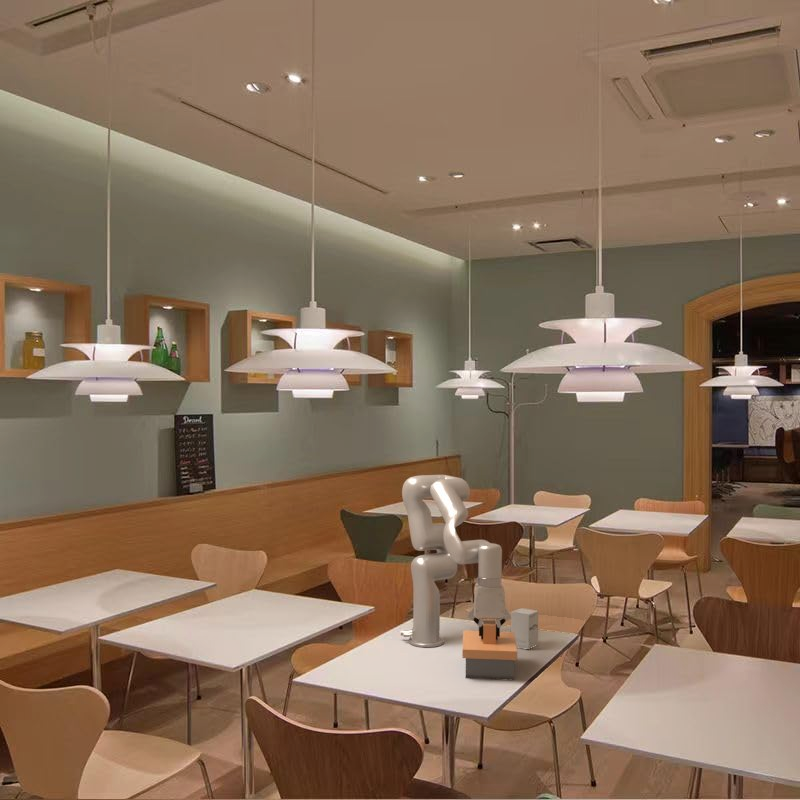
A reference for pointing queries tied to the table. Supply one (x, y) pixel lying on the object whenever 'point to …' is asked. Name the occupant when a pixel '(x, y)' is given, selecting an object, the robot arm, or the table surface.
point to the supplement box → (525, 627)
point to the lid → (489, 643)
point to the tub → (489, 669)
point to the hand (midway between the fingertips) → (489, 638)
